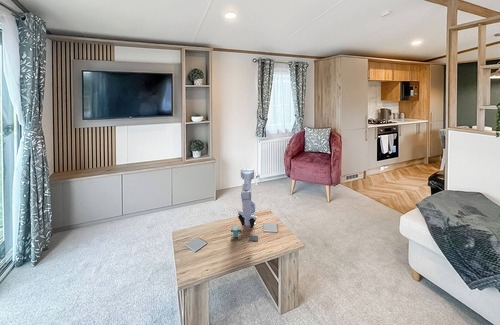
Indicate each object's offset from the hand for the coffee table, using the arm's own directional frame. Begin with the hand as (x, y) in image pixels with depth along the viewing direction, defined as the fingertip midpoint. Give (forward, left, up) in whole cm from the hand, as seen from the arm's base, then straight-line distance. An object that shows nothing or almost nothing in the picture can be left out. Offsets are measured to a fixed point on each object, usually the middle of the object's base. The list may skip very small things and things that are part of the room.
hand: (247, 226), depth 178 cm
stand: (-4, -8, -10) cm, 13 cm away
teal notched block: (-4, -8, -7) cm, 11 cm away
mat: (0, +4, -10) cm, 11 cm away
